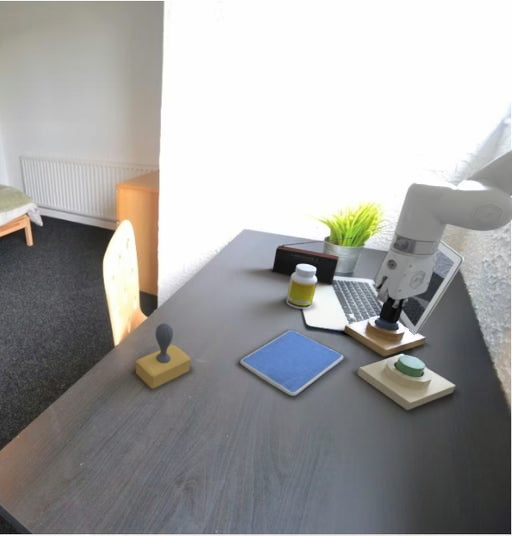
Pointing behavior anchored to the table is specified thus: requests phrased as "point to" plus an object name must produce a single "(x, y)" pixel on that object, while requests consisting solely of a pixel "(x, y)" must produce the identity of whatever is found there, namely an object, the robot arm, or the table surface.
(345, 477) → the table surface
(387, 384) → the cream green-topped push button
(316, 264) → the radio
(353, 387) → the table surface
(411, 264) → the robot arm
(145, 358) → the rubber stamp
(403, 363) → the green button
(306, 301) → the pill bottle
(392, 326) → the blue button
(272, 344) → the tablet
